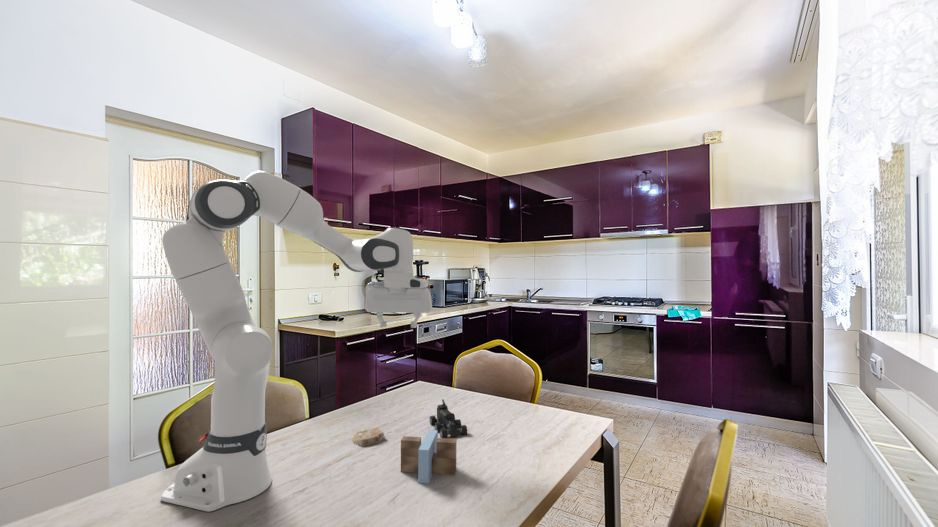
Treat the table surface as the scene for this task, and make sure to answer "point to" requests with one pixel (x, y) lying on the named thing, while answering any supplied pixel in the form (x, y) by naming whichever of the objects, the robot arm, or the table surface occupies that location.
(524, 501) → the table surface
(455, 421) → the toy vehicle
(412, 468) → the wooden u-shaped block
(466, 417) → the table surface
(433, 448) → the blue arch block
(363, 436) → the stone
